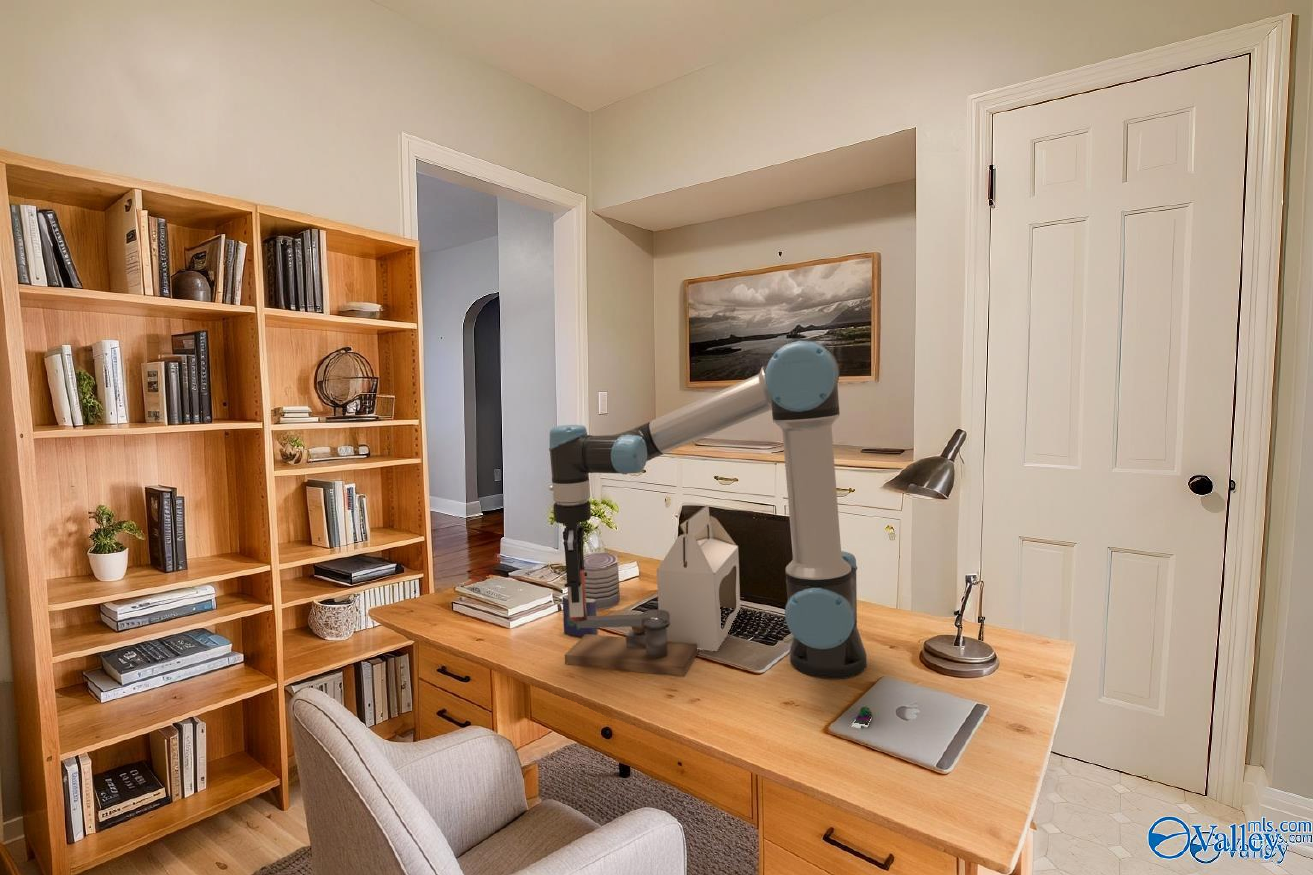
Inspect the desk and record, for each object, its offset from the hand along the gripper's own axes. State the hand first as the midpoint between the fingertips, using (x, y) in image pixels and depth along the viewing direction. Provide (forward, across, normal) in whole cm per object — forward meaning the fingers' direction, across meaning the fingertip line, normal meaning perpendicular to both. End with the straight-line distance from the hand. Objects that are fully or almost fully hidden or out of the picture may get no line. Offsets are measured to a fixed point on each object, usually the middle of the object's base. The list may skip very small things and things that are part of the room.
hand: (578, 611), depth 136 cm
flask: (+12, -16, -2) cm, 20 cm away
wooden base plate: (+12, -2, +11) cm, 16 cm away
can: (+12, -37, +1) cm, 39 cm away
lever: (+3, 0, +9) cm, 9 cm away
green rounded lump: (+12, +27, +51) cm, 59 cm away
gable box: (+12, -16, +27) cm, 33 cm away
